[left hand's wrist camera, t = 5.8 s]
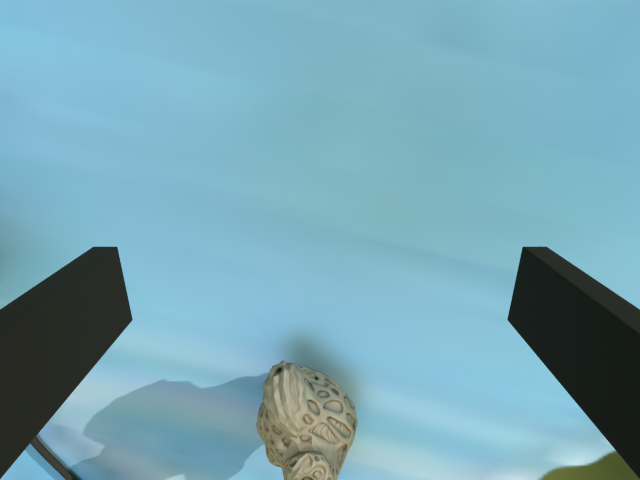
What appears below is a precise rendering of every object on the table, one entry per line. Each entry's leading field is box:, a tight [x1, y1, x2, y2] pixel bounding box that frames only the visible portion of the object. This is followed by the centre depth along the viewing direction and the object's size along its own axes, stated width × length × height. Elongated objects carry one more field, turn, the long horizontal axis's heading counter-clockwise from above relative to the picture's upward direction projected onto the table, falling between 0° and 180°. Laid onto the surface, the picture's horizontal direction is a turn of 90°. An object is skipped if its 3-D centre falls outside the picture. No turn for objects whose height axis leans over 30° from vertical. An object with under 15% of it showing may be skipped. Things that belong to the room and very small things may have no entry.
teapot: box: [256, 361, 357, 480], centre depth 43 cm, size 21×12×15 cm, turn 13°
